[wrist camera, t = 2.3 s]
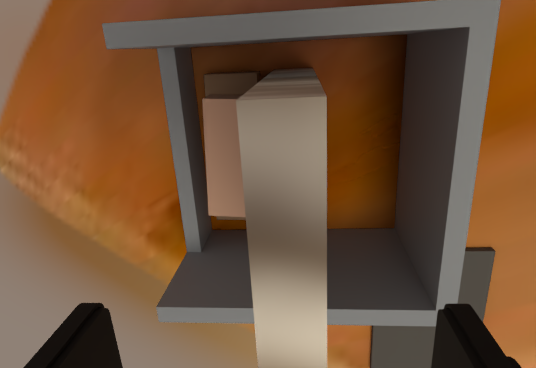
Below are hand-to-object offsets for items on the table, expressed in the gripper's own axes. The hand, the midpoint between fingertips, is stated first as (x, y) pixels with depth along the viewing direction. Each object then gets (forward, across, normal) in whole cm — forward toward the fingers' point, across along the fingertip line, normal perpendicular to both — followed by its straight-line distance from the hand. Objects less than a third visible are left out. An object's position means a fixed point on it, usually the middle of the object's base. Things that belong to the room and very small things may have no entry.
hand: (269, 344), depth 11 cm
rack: (+22, -1, -1) cm, 22 cm away
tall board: (+22, -1, -1) cm, 22 cm away
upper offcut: (+20, +4, -1) cm, 21 cm away
